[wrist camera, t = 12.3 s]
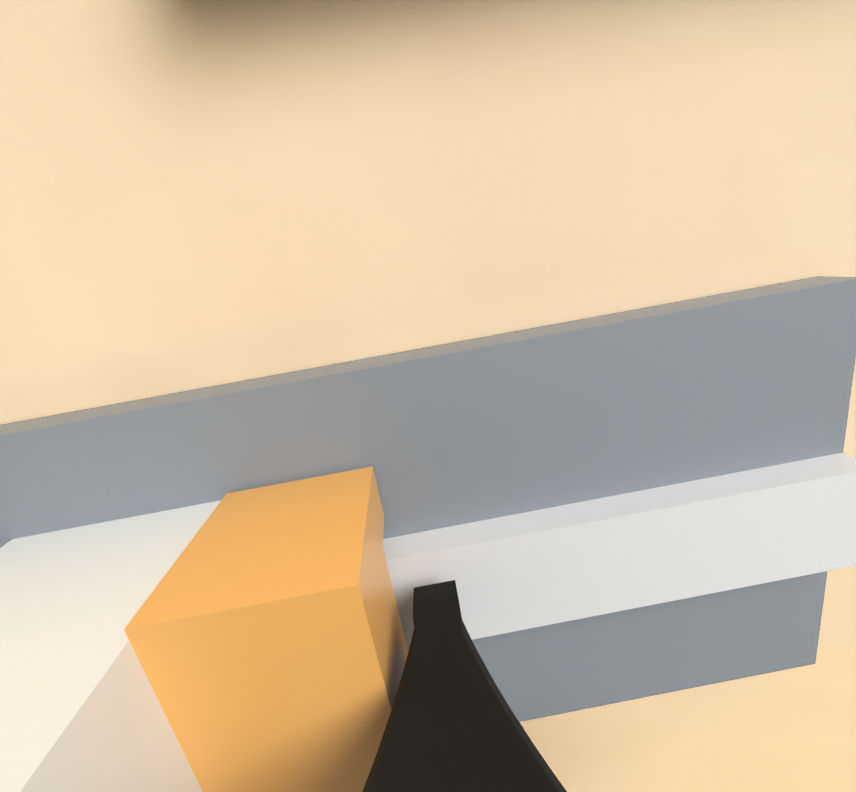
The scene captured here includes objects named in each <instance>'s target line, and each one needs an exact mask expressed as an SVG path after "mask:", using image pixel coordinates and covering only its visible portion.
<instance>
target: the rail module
mask: <svg viewBox="0 0 856 792" xmlns="http://www.w3.org/2000/svg"><path fill="white" fill-rule="evenodd" d="M220 502H221V500H220V501H215V502H209V503H204V504H199V505H193V506H188V507H182V508H177V509H172V510H166V511H161V512H156V513H150V514H145V515H139V516H134V517H129V518H123V519H118V520H113V521H107V522H102V523H96V524H91V525H86V526H80V527H75V528H70V529H64V530H59V531H53V532H48V533H43V534H37V535H32V536H27V537H21V538H16V539H12V540H11V541H9V542H8V543H6V544H5V545H4V546H2V547H1V548H0V792H202V790H201V788H200V786H199V783H198V781H197V779H196V777H195V775H194V773H193V771H192V769H191V767H190V765H189V763H188V761H187V759H186V757H185V755H184V752H183V750H182V748H181V746H180V744H179V742H178V740H177V738H176V736H175V734H174V732H173V730H172V728H171V726H170V724H169V722H168V719H167V717H166V715H165V713H164V711H163V709H162V707H161V705H160V703H159V701H158V699H157V697H156V695H155V693H154V691H153V689H152V686H151V684H150V682H149V680H148V678H147V676H146V674H145V672H144V670H143V668H142V666H141V664H140V662H139V660H138V658H137V656H136V653H135V651H134V649H133V647H132V645H131V643H130V641H129V639H128V637H127V635H126V633H125V631H124V629H125V627H126V626H127V625H128V623H129V622H130V621H131V619H132V618H133V617H134V615H135V614H136V613H137V612H138V610H139V609H140V608H141V606H142V605H143V604H144V602H145V601H146V600H147V598H148V597H149V596H150V594H151V593H152V592H153V590H154V589H155V588H156V586H157V585H158V584H159V582H160V581H161V580H162V578H163V577H164V576H165V574H166V573H167V572H168V571H169V569H170V568H171V567H172V565H173V564H174V563H175V561H176V560H177V559H178V557H179V556H180V555H181V553H182V552H183V551H184V549H185V548H186V547H187V545H188V544H189V543H190V541H191V540H192V539H193V537H194V536H195V535H196V533H197V532H198V531H199V530H200V528H201V527H202V526H203V524H204V523H205V522H206V520H207V519H208V518H209V516H210V515H211V514H212V512H213V511H214V510H215V508H216V507H217V506H218V504H219V503H220Z"/></svg>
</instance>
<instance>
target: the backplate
mask: <svg viewBox="0 0 856 792" xmlns="http://www.w3.org/2000/svg"><path fill="white" fill-rule="evenodd" d="M855 357H856V277H821V276H818V277H812V278H807V279H801V280H796V281H790V282H785V283H779V284H774V285H768V286H763V287H757V288H752V289H746V290H741V291H735V292H729V293H724V294H718V295H713V296H707V297H702V298H696V299H691V300H685V301H680V302H674V303H669V304H663V305H658V306H652V307H647V308H641V309H636V310H630V311H625V312H619V313H614V314H608V315H603V316H597V317H592V318H586V319H581V320H575V321H570V322H564V323H559V324H553V325H548V326H542V327H537V328H531V329H526V330H520V331H515V332H509V333H504V334H498V335H493V336H487V337H482V338H476V339H471V340H465V341H460V342H454V343H449V344H443V345H438V346H432V347H427V348H421V349H416V350H410V351H405V352H399V353H394V354H388V355H383V356H377V357H372V358H366V359H361V360H355V361H350V362H344V363H339V364H333V365H328V366H322V367H317V368H311V369H306V370H300V371H295V372H289V373H284V374H278V375H273V376H267V377H262V378H256V379H251V380H245V381H240V382H234V383H229V384H223V385H218V386H212V387H206V388H201V389H195V390H190V391H184V392H179V393H173V394H168V395H162V396H157V397H151V398H146V399H140V400H135V401H129V402H124V403H118V404H113V405H107V406H102V407H96V408H91V409H85V410H80V411H74V412H69V413H63V414H58V415H52V416H47V417H41V418H36V419H30V420H25V421H19V422H14V423H8V424H3V425H0V548H1V547H2V546H4V545H5V544H6V543H8V542H9V541H11V540H12V539H16V538H21V537H27V536H32V535H37V534H43V533H48V532H53V531H59V530H64V529H70V528H75V527H80V526H86V525H91V524H96V523H102V522H107V521H113V520H118V519H123V518H129V517H134V516H139V515H145V514H150V513H156V512H161V511H166V510H172V509H177V508H182V507H188V506H193V505H199V504H204V503H209V502H215V501H220V500H222V499H223V498H224V496H225V495H226V494H227V493H232V492H237V491H243V490H248V489H254V488H259V487H264V486H270V485H275V484H280V483H286V482H291V481H297V480H302V479H307V478H313V477H318V476H324V475H329V474H334V473H340V472H345V471H350V470H356V469H361V468H367V467H372V466H373V469H374V474H375V478H376V482H377V487H378V491H379V495H380V500H381V504H382V508H383V513H384V536H383V549H384V553H385V557H386V561H387V565H388V570H389V574H390V578H391V582H392V586H393V591H394V595H395V599H396V603H397V608H398V612H399V616H400V620H401V624H402V629H403V633H404V637H405V641H406V645H407V650H408V652H409V648H410V643H411V639H412V635H413V631H414V623H413V591H414V588H415V587H420V586H425V585H431V584H436V583H441V582H446V581H452V580H455V582H456V588H457V593H458V599H459V604H460V610H461V615H462V620H463V622H464V625H465V627H466V629H467V631H468V633H469V635H470V637H471V639H472V641H473V643H474V645H475V647H476V649H477V651H478V653H479V655H480V657H481V658H482V660H483V662H484V664H485V666H486V667H487V669H488V671H489V673H490V675H491V676H492V678H493V680H494V682H495V684H496V685H497V687H498V689H499V690H500V692H501V694H502V695H503V697H504V699H505V700H506V702H507V704H508V705H509V707H510V708H511V710H512V712H513V713H514V715H515V716H516V718H517V719H518V721H519V722H521V721H526V720H531V719H536V718H541V717H546V716H551V715H556V714H561V713H567V712H572V711H577V710H582V709H587V708H592V707H597V706H602V705H607V704H612V703H617V702H622V701H628V700H633V699H638V698H643V697H648V696H653V695H658V694H663V693H668V692H673V691H678V690H684V689H689V688H694V687H699V686H704V685H709V684H714V683H719V682H724V681H729V680H734V679H739V678H745V677H750V676H755V675H760V674H765V673H770V672H775V671H780V670H785V669H790V668H795V667H801V666H806V665H811V664H815V661H816V653H817V646H818V638H819V631H820V623H821V615H822V608H823V600H824V592H825V585H826V577H827V571H830V570H836V569H841V568H846V567H851V566H856V458H855V457H853V456H850V455H848V454H845V453H843V448H844V440H845V433H846V425H847V418H848V410H849V402H850V395H851V387H852V380H853V372H854V364H855Z"/></svg>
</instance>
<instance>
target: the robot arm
mask: <svg viewBox="0 0 856 792" xmlns="http://www.w3.org/2000/svg"><path fill="white" fill-rule="evenodd" d="M413 623H414V631H413V635H412V639H411V643H410V648H409V652H408V655H407V659H406V663H405V666H404V670H403V673H402V677H401V680H400V684H399V687H398V691H397V694H396V698H395V701H394V704H393V707H392V710H391V713H390V716H389V719H388V722H387V724H386V727H385V730H384V733H383V736H382V739H381V742H380V745H379V748H378V751H377V754H376V757H375V759H374V762H373V765H372V767H371V770H370V773H369V775H368V778H367V781H366V783H365V786H364V788H363V791H362V792H567V791H566V790H565V789H564V787H563V786H562V784H561V783H560V782H559V780H558V779H557V777H556V776H555V775H554V773H553V772H552V770H551V769H550V768H549V766H548V765H547V763H546V762H545V760H544V759H543V757H542V756H541V754H540V753H539V752H538V750H537V749H536V747H535V746H534V744H533V743H532V741H531V740H530V738H529V737H528V735H527V734H526V732H525V730H524V729H523V727H522V726H521V724H520V723H519V721H518V719H517V718H516V716H515V715H514V713H513V712H512V710H511V708H510V707H509V705H508V704H507V702H506V700H505V699H504V697H503V695H502V694H501V692H500V690H499V689H498V687H497V685H496V684H495V682H494V680H493V678H492V676H491V675H490V673H489V671H488V669H487V667H486V666H485V664H484V662H483V660H482V658H481V657H480V655H479V653H478V651H477V649H476V647H475V645H474V643H473V641H472V639H471V637H470V635H469V633H468V631H467V629H466V627H465V625H464V622H463V620H462V615H461V610H460V604H459V599H458V593H457V588H456V582H455V580H452V581H446V582H441V583H436V584H431V585H425V586H420V587H415V588H414V591H413Z"/></svg>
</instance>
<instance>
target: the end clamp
mask: <svg viewBox="0 0 856 792" xmlns="http://www.w3.org/2000/svg"><path fill="white" fill-rule="evenodd" d="M383 536H384V513H383V508H382V504H381V500H380V495H379V491H378V487H377V482H376V478H375V474H374V469H373V466H372V467H367V468H361V469H356V470H350V471H345V472H340V473H334V474H329V475H324V476H318V477H313V478H307V479H302V480H297V481H291V482H286V483H280V484H275V485H270V486H264V487H259V488H254V489H248V490H243V491H237V492H232V493H227V494H226V495H225V496H224V498H223V499H222V500H221V502H220V503H219V504H218V506H217V507H216V508H215V510H214V511H213V512H212V514H211V515H210V516H209V518H208V519H207V520H206V522H205V523H204V524H203V526H202V527H201V528H200V530H199V531H198V532H197V533H196V535H195V536H194V537H193V539H192V540H191V541H190V543H189V544H188V545H187V547H186V548H185V549H184V551H183V552H182V553H181V555H180V556H179V557H178V559H177V560H176V561H175V563H174V564H173V565H172V567H171V568H170V569H169V571H168V572H167V573H166V574H165V576H164V577H163V578H162V580H161V581H160V582H159V584H158V585H157V586H156V588H155V589H154V590H153V592H152V593H151V594H150V596H149V597H148V598H147V600H146V601H145V602H144V604H143V605H142V606H141V608H140V609H139V610H138V612H137V613H136V614H135V615H134V617H133V618H132V619H131V621H130V622H129V623H128V625H127V626H126V627H125V629H124V631H125V633H126V635H127V637H128V639H129V641H130V643H131V645H132V647H133V649H134V651H135V653H136V656H137V658H138V660H139V662H140V664H141V666H142V668H143V670H144V672H145V674H146V676H147V678H148V680H149V682H150V684H151V686H152V689H153V691H154V693H155V695H156V697H157V699H158V701H159V703H160V705H161V707H162V709H163V711H164V713H165V715H166V717H167V719H168V722H169V724H170V726H171V728H172V730H173V732H174V734H175V736H176V738H177V740H178V742H179V744H180V746H181V748H182V750H183V752H184V755H185V757H186V759H187V761H188V763H189V765H190V767H191V769H192V771H193V773H194V775H195V777H196V779H197V781H198V783H199V786H200V788H201V790H202V792H362V791H363V788H364V786H365V783H366V781H367V778H368V775H369V773H370V770H371V767H372V765H373V762H374V759H375V757H376V754H377V751H378V748H379V745H380V742H381V739H382V736H383V733H384V730H385V727H386V724H387V722H388V719H389V716H390V713H391V710H392V707H393V704H394V701H395V698H396V694H397V691H398V687H399V684H400V680H401V677H402V673H403V670H404V666H405V663H406V659H407V655H408V650H407V645H406V641H405V637H404V633H403V629H402V624H401V620H400V616H399V612H398V608H397V603H396V599H395V595H394V591H393V586H392V582H391V578H390V574H389V570H388V565H387V561H386V557H385V553H384V549H383Z"/></svg>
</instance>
